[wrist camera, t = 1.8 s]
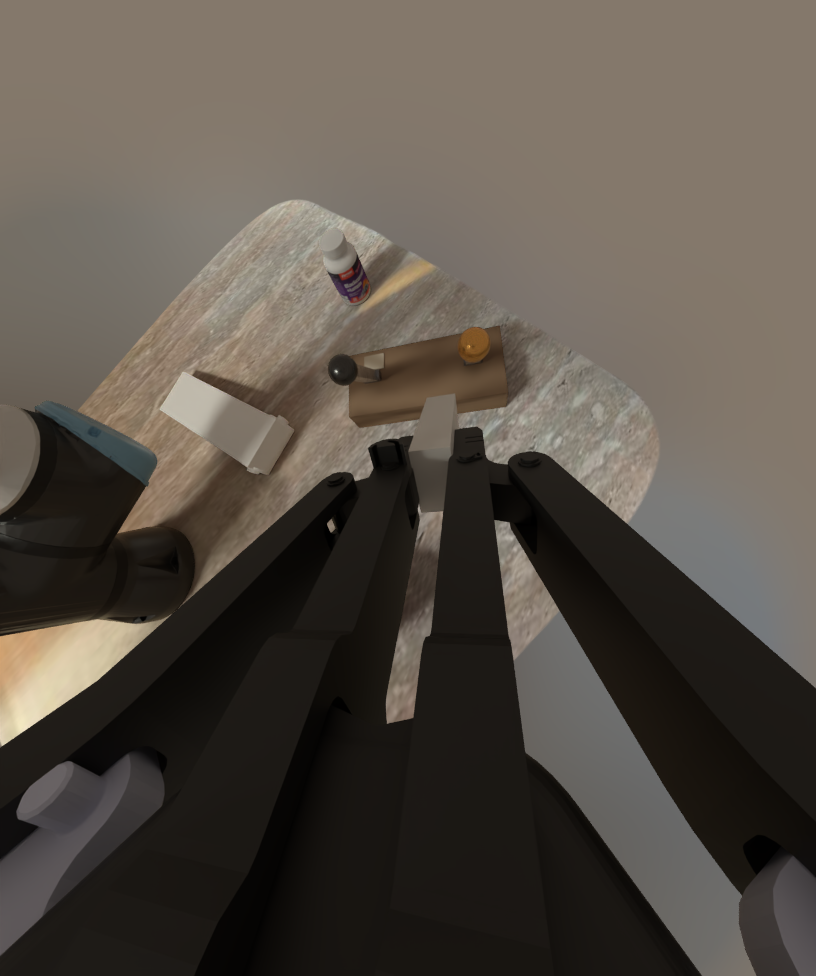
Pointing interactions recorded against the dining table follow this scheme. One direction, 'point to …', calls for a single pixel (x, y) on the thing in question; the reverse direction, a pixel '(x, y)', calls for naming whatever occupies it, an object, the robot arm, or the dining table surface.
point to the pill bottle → (344, 267)
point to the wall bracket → (228, 423)
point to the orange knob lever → (473, 345)
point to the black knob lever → (351, 371)
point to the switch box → (427, 380)
